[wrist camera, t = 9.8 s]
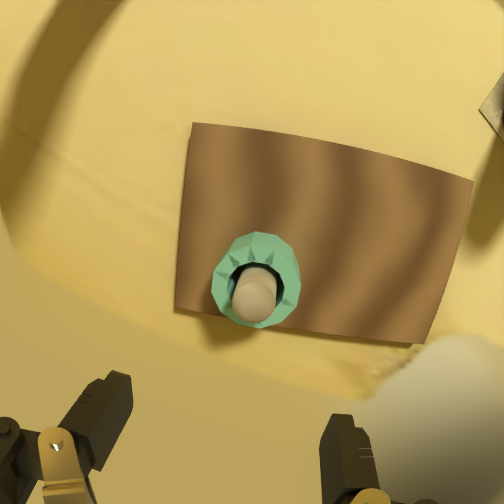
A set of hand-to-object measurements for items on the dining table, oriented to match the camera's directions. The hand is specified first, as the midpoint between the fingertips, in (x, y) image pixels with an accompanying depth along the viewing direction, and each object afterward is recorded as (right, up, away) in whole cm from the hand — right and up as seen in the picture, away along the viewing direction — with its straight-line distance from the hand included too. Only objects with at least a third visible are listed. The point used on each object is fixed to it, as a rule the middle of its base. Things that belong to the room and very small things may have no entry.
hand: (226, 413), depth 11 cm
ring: (+2, +5, +15) cm, 16 cm away
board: (+7, +7, +15) cm, 19 cm away
